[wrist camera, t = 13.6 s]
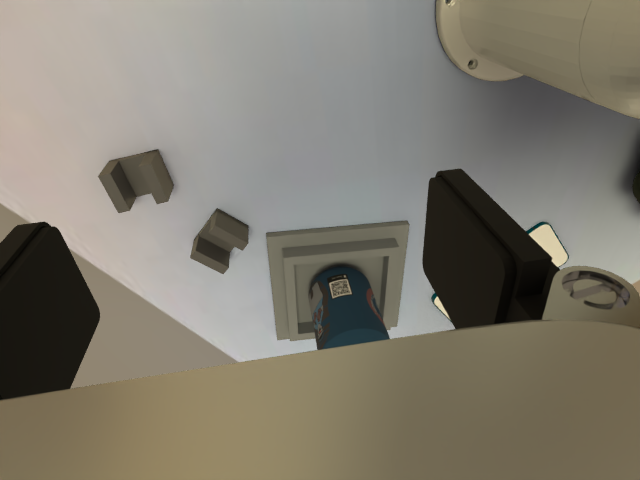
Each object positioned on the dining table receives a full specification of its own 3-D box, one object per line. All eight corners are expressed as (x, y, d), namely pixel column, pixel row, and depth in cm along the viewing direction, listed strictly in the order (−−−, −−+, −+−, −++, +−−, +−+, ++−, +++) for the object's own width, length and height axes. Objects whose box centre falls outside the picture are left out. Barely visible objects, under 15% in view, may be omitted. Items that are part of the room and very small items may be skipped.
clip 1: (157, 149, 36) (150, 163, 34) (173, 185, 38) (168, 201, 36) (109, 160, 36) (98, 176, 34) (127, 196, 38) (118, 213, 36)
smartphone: (542, 215, 47) (427, 295, 51) (547, 219, 46) (429, 300, 50) (566, 255, 51) (457, 326, 55) (571, 259, 50) (460, 331, 54)
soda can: (370, 301, 49) (400, 386, 39) (312, 313, 49) (328, 402, 39) (364, 254, 45) (395, 336, 35) (301, 267, 45) (315, 353, 35)
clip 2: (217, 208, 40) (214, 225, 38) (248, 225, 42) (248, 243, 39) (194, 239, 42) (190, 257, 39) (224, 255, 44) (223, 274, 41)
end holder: (407, 220, 44) (414, 233, 42) (395, 321, 53) (401, 337, 50) (266, 232, 43) (267, 247, 41) (277, 335, 51) (278, 351, 49)
